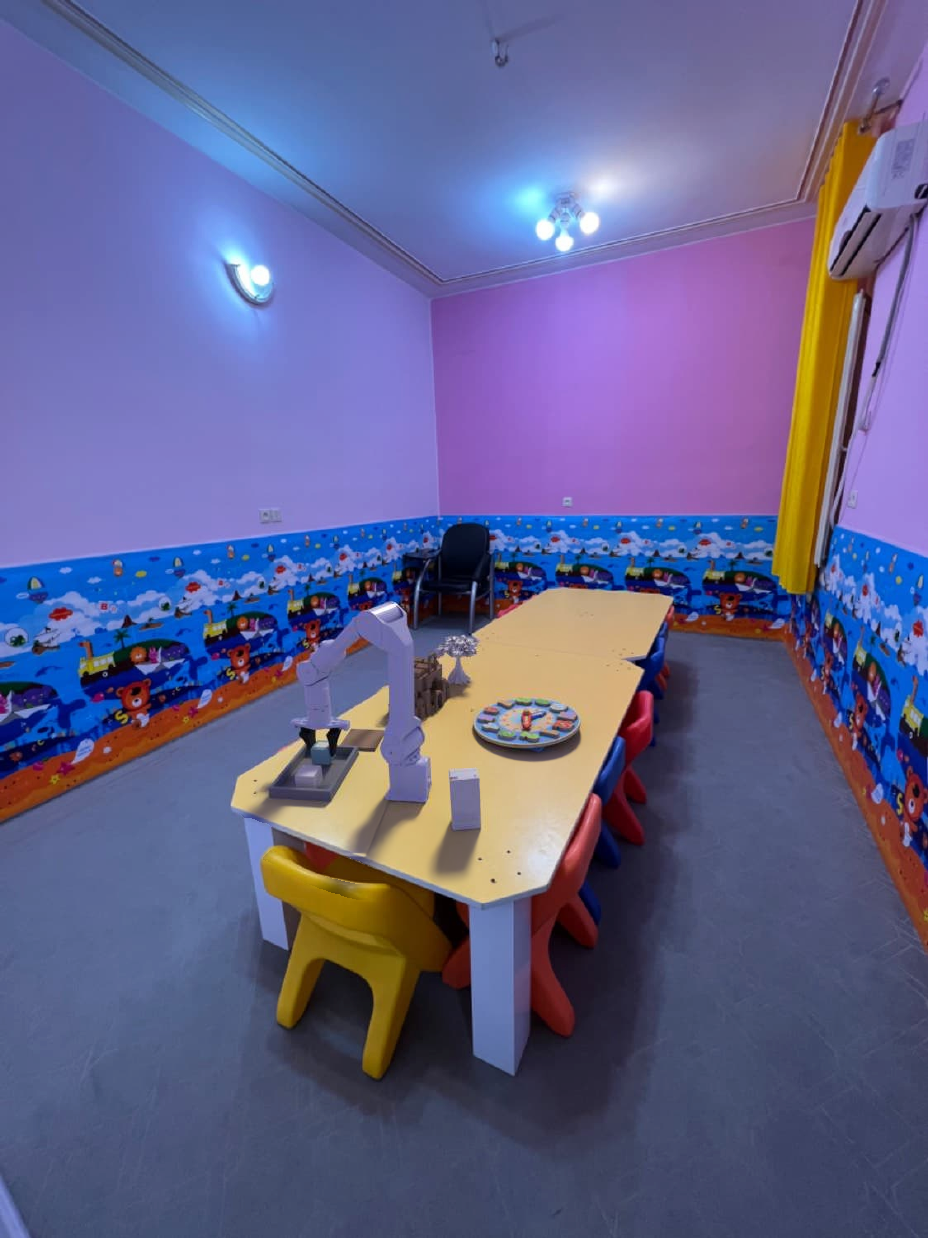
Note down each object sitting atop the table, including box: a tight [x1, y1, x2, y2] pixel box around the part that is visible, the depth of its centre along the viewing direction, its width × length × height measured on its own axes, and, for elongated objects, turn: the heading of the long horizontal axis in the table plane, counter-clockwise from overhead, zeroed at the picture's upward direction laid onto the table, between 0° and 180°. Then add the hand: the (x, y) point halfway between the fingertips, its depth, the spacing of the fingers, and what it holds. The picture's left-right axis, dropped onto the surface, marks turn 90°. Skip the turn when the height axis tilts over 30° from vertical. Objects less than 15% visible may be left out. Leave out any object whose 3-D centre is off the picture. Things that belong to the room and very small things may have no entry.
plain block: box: [295, 765, 323, 789], centre depth 114 cm, size 4×4×4 cm
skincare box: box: [448, 767, 482, 831], centre depth 100 cm, size 6×4×12 cm
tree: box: [433, 635, 479, 685], centre depth 174 cm, size 18×16×17 cm
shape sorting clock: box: [473, 697, 582, 753], centre depth 140 cm, size 31×30×6 cm
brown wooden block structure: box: [387, 651, 451, 720], centre depth 155 cm, size 22×15×19 cm, turn 155°
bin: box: [267, 743, 360, 802], centre depth 119 cm, size 15×20×3 cm
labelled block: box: [310, 739, 336, 765], centre depth 122 cm, size 4×4×4 cm
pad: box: [339, 728, 385, 752], centre depth 135 cm, size 10×10×1 cm
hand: (323, 754), depth 122 cm, fingers closed on labelled block, 4 cm apart
